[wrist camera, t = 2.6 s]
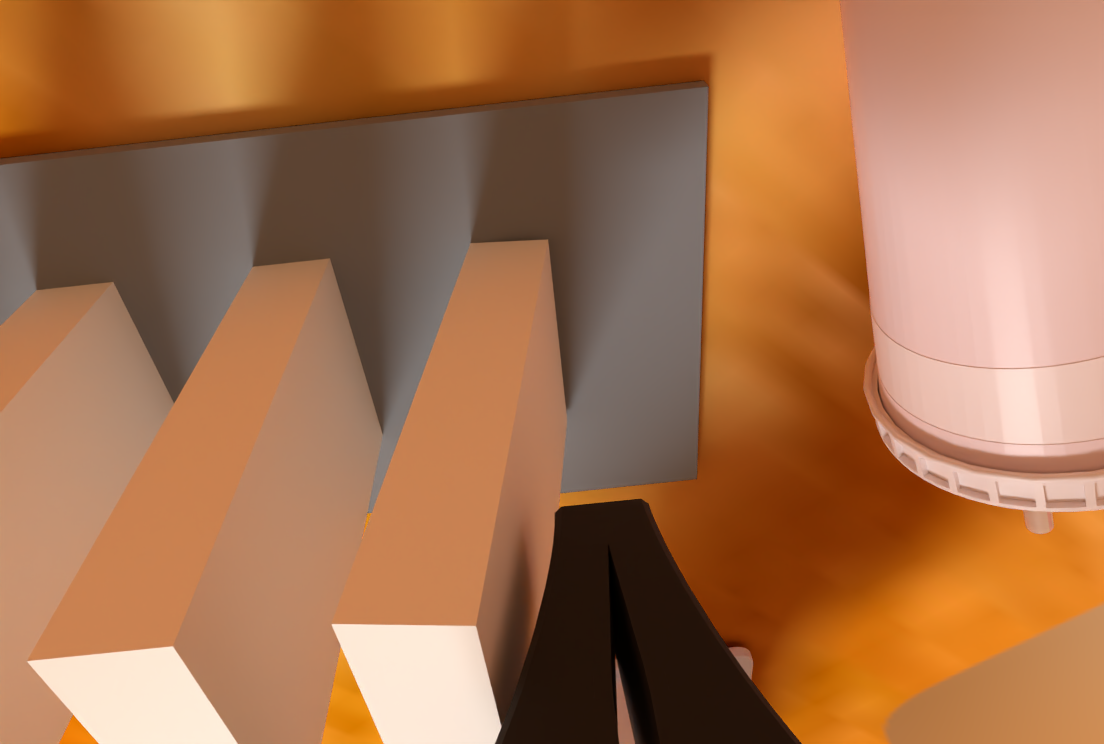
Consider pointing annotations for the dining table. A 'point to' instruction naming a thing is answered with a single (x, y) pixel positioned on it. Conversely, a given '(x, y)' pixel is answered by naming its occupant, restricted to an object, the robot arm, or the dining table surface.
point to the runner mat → (411, 247)
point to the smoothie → (985, 242)
